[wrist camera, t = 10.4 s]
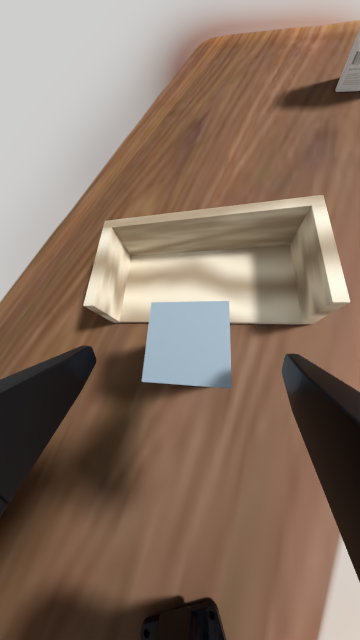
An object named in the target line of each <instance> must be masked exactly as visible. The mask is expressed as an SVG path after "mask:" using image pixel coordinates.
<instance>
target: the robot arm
mask: <svg viewBox="0 0 360 640" xmlns="http://www.w3.org/2000/svg"><path fill="white" fill-rule="evenodd" d="M95 364H96V357H95V354H94V352H93V349H92V347H91V346H80V347H78V348H75V349H73V350H71V351H68V352H66V353H63V354H61V355H59V356H56V357H54V358H51V359H49V360H47V361H44V362H42V363H39V364H37V365H34V366H32V367H30V368H27V369H25V370H22V371H20V372H18V373H15V374H13V375H10V376H8V377H6V378H3V379H1V380H0V518H1V516H2V514H3V513H4V511H5V510H6V508H7V507H8V505H9V503H10V502H11V500H12V498H13V497H14V495H15V494H16V492H17V491H18V489H19V488H20V486H21V484H22V483H23V481H24V480H25V478H26V477H27V475H28V473H29V472H30V470H31V469H32V467H33V466H34V464H35V463H36V461H37V459H38V458H39V456H40V455H41V453H42V452H43V450H44V448H45V447H46V445H47V444H48V442H49V441H50V439H51V438H52V436H53V434H54V433H55V431H56V430H57V428H58V427H59V425H60V423H61V422H62V420H63V419H64V417H65V416H66V414H67V413H68V411H69V409H70V408H71V406H72V405H73V403H74V402H75V400H76V398H77V397H78V395H79V394H80V392H81V390H82V389H83V387H84V385H85V383H86V381H87V379H88V377H89V375H90V373H91V371H92V370H93V368H94V366H95ZM282 375H283V379H284V383H285V387H286V390H287V394H288V398H289V401H290V405H291V408H292V412H293V414H294V417H295V420H296V422H297V425H298V427H299V430H300V432H301V435H302V437H303V440H304V442H305V445H306V447H307V450H308V452H309V455H310V458H311V460H312V463H313V465H314V468H315V470H316V473H317V475H318V478H319V480H320V483H321V485H322V488H323V490H324V493H325V495H326V498H327V501H328V503H329V506H330V508H331V511H332V513H333V516H334V518H335V521H336V523H337V526H338V528H339V531H340V533H341V536H342V538H343V541H344V543H345V546H346V549H347V551H348V554H349V556H350V559H351V561H352V564H353V566H354V569H355V571H356V574H357V576H358V579H359V581H360V392H359V391H357V390H355V389H354V388H352V387H351V386H349V385H347V384H346V383H344V382H342V381H341V380H339V379H338V378H336V377H334V376H333V375H331V374H329V373H328V372H326V371H325V370H323V369H321V368H320V367H318V366H316V365H315V364H313V363H312V362H310V361H308V360H307V359H305V358H304V357H302V356H300V355H299V354H286V355H285V358H284V363H283V367H282ZM209 611H213V612H214V614H211V613H210V612H209ZM146 629H148V630H149V632H148V631H147V630H146ZM141 638H142V640H226V637H225V633H224V630H223V626H222V622H221V619H220V615H219V611H218V608H217V605H216V604H215V602H213V601H211V600H209V601H206V602H202V603H199V604H195V605H191V606H186V607H182V608H179V609H175V610H171V611H168V612H164V613H161V614H159V615H156V616H152V617H149V618H146V619H145V620H144V622H143V625H142V629H141Z"/></svg>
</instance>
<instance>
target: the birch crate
mask: <svg viewBox="0 0 360 640" xmlns="http://www.w3.org/2000/svg"><path fill="white" fill-rule="evenodd" d="M196 301H229V312H230V324H313V323H315V322H317V321H319V320H320V319H322V318H324V317H325V316H327V315H329V314H331V313H332V312H334V311H336V310H337V309H339V308H341V307H343V306H344V305H346V304H348V303H349V302H350V299H349V295H348V291H347V287H346V283H345V279H344V275H343V271H342V267H341V263H340V259H339V256H338V252H337V248H336V244H335V240H334V236H333V232H332V228H331V224H330V220H329V216H328V212H327V208H326V204H325V200H324V196H323V195H319V196H310V197H302V198H293V199H285V200H277V201H268V202H260V203H252V204H243V205H235V206H226V207H218V208H210V209H201V210H193V211H184V212H176V213H168V214H159V215H151V216H143V217H134V218H126V219H117V220H109V221H105V223H104V227H103V231H102V234H101V238H100V242H99V246H98V250H97V254H96V258H95V262H94V266H93V269H92V273H91V277H90V281H89V285H88V289H87V293H86V297H85V301H84V304H83V306H85V307H86V308H88V309H90V310H92V311H94V312H95V313H97V314H99V315H101V316H102V317H104V318H106V319H108V320H109V321H111V322H113V323H149V318H150V310H151V302H196Z"/></svg>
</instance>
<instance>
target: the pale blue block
mask: <svg viewBox="0 0 360 640" xmlns="http://www.w3.org/2000/svg"><path fill="white" fill-rule="evenodd" d="M142 382H151V383H165V384H178V385H192V386H205V387H218V388H231V353H230V312H229V301H196V302H151V310H150V318H149V326H148V334H147V342H146V350H145V358H144V366H143V374H142Z"/></svg>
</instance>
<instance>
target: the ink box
mask: <svg viewBox="0 0 360 640" xmlns="http://www.w3.org/2000/svg"><path fill="white" fill-rule="evenodd" d="M352 91H360V29H359V32H358V34H357V37H356V39H355V42H354V44H353V47H352V49H351V52H350V54H349V57H348V59H347V62H346V64H345V66H344V69H343V71H342V74H341V76H340V79H339V82H338V84H337V87H336V90H335V92H352Z"/></svg>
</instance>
